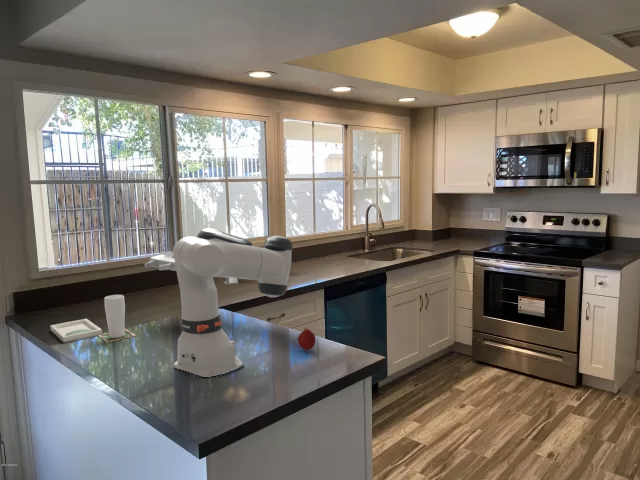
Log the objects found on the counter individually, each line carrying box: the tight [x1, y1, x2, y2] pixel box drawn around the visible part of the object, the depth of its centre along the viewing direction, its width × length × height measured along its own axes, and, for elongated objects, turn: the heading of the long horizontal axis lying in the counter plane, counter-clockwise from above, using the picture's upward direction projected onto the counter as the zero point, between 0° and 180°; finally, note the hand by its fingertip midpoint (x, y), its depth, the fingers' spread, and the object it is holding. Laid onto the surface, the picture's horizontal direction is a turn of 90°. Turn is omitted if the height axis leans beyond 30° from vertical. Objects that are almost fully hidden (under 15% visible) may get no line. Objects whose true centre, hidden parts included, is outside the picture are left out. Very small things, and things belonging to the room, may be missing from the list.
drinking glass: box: [103, 294, 126, 339], centre depth 174 cm, size 7×7×15 cm
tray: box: [50, 318, 103, 344], centre depth 181 cm, size 20×13×2 cm, turn 41°
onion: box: [297, 327, 317, 351], centre depth 156 cm, size 6×6×8 cm
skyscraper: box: [223, 232, 240, 285], centre depth 265 cm, size 8×8×28 cm
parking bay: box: [98, 328, 137, 344], centre depth 175 cm, size 10×10×1 cm
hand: (152, 266), depth 185 cm, fingers open, 8 cm apart
